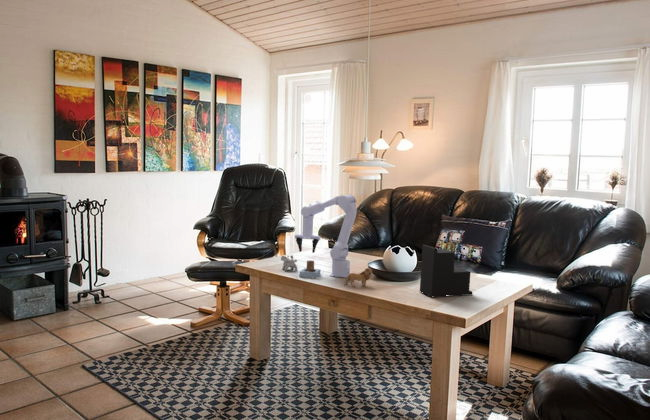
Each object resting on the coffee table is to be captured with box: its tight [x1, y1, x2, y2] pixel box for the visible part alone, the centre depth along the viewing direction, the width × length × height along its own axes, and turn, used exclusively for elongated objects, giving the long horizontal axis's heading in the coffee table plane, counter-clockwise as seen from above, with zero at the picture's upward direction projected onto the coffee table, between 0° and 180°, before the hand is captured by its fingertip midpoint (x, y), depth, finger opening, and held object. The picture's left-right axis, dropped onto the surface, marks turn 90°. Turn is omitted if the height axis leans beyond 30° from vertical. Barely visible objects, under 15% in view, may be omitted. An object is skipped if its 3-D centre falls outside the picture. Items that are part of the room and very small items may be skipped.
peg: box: [306, 260, 315, 272], centre depth 283 cm, size 4×4×8 cm
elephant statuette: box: [280, 254, 298, 272], centre depth 298 cm, size 9×12×8 cm
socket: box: [299, 267, 321, 279], centre depth 284 cm, size 9×9×3 cm
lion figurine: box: [343, 267, 373, 288], centre depth 264 cm, size 15×5×9 cm, turn 108°
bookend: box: [419, 244, 473, 298], centre depth 254 cm, size 23×11×24 cm, turn 111°
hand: (306, 251), depth 297 cm, fingers open, 7 cm apart
